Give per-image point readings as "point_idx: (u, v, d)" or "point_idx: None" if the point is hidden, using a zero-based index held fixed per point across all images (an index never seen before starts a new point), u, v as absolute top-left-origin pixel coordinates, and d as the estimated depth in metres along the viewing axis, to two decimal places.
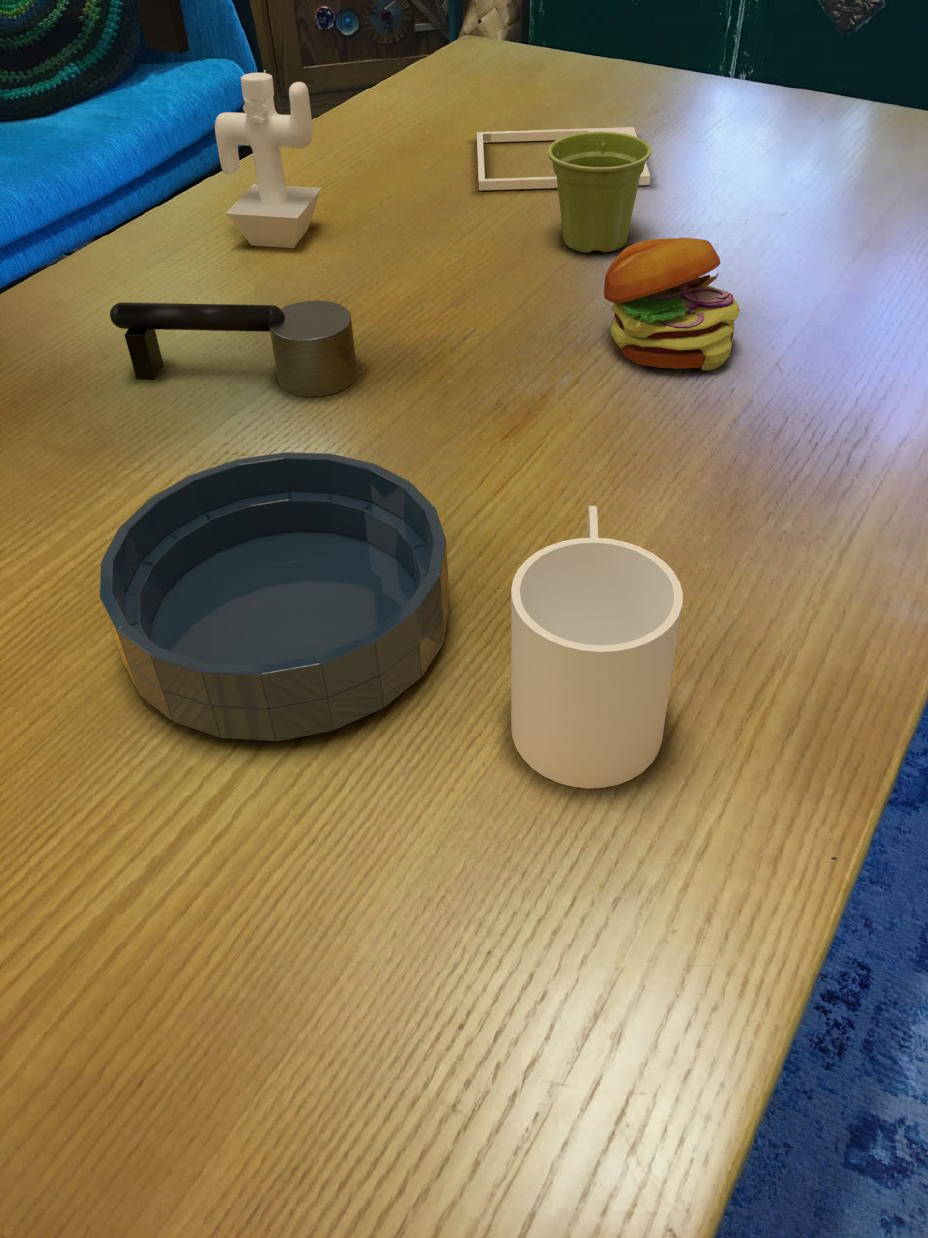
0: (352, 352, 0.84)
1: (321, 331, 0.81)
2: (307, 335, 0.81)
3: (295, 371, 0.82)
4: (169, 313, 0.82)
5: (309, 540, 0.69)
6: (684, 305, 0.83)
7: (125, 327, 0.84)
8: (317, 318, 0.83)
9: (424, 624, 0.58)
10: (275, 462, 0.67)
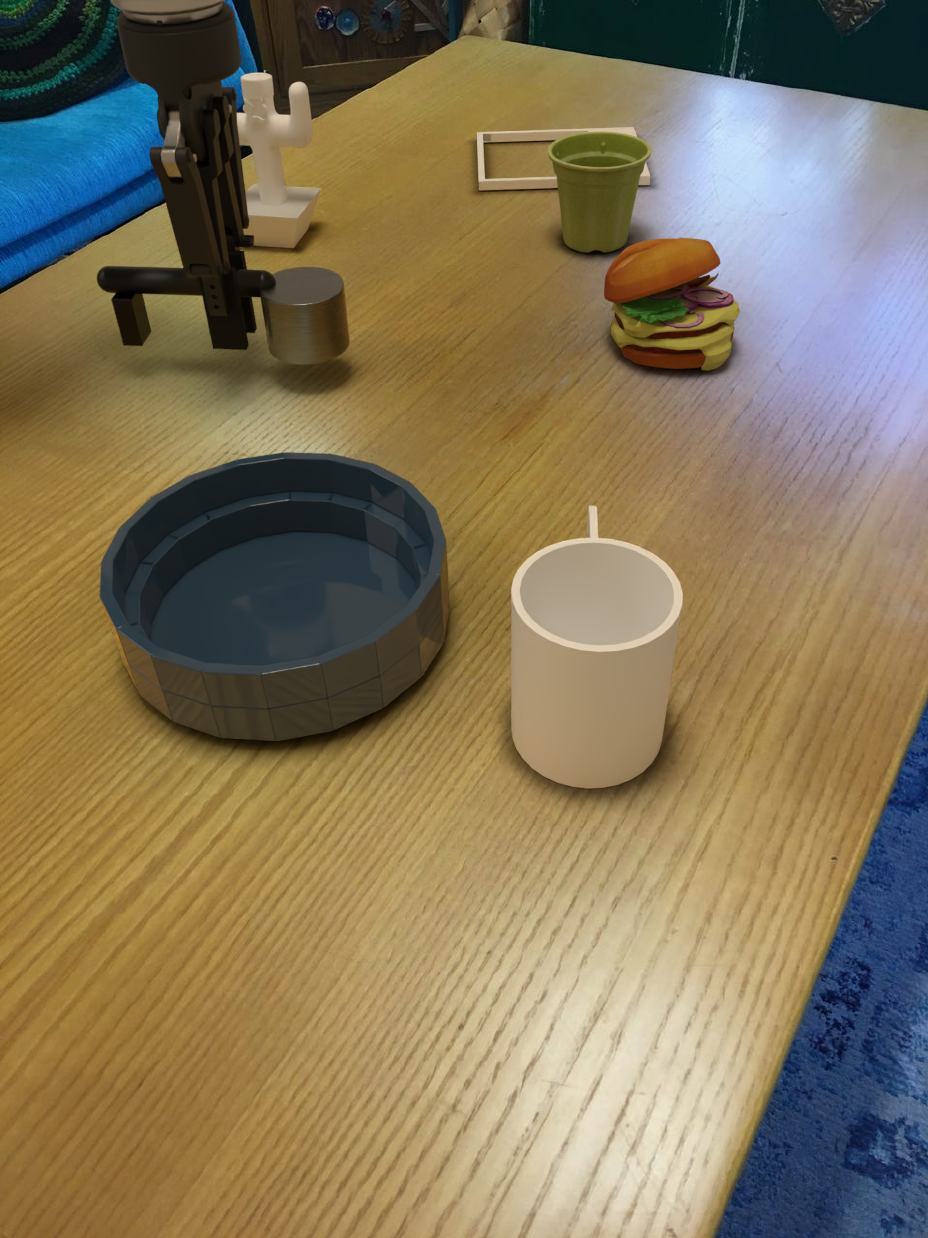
0: (344, 319, 0.82)
1: (313, 297, 0.79)
2: (298, 300, 0.79)
3: (285, 338, 0.80)
4: (157, 277, 0.81)
5: (309, 540, 0.69)
6: (684, 305, 0.83)
7: (112, 291, 0.82)
8: (309, 283, 0.81)
9: (424, 624, 0.58)
10: (275, 462, 0.67)
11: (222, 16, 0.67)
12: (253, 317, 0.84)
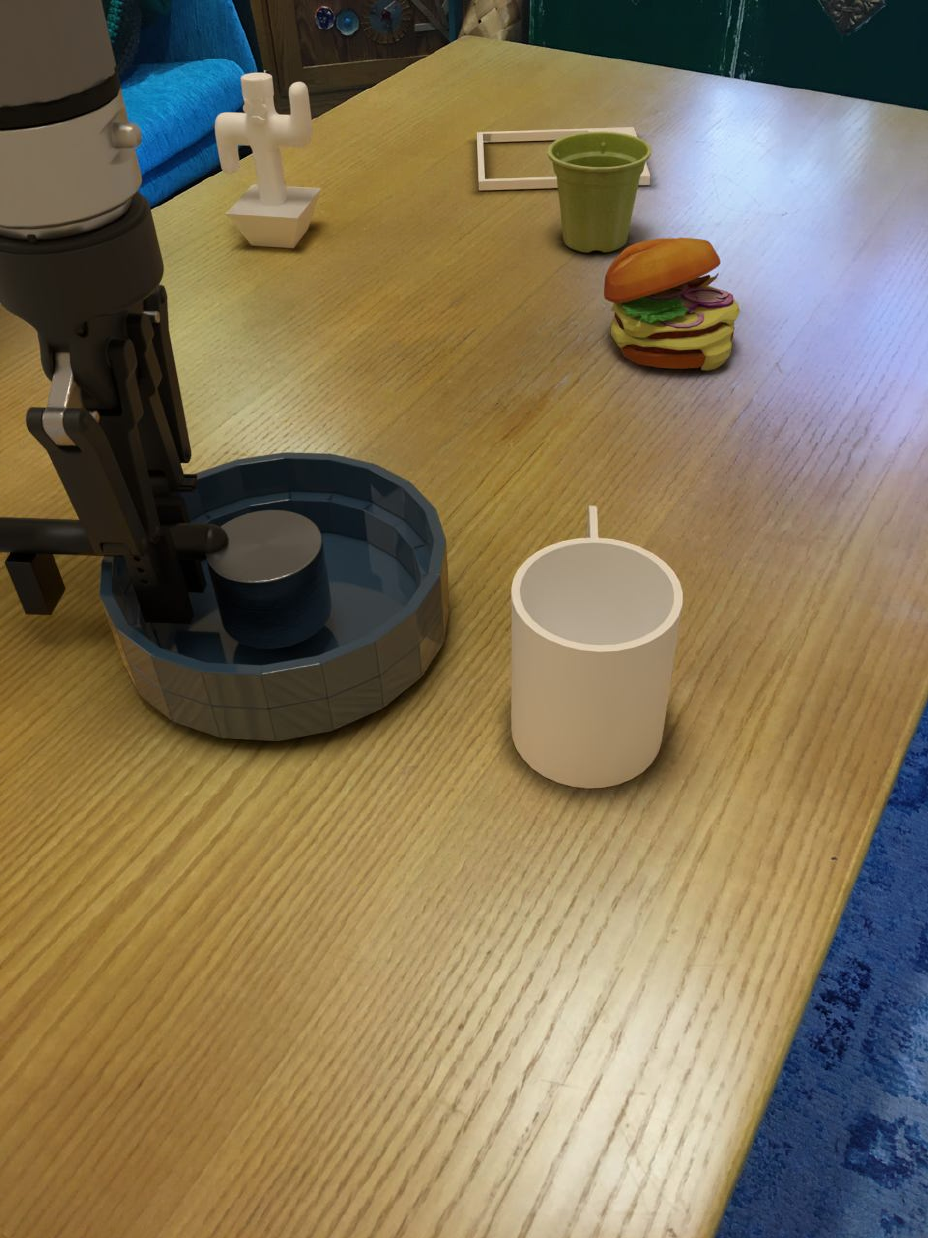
0: (324, 586, 0.60)
1: (279, 567, 0.57)
2: (258, 574, 0.57)
3: (242, 618, 0.58)
4: (65, 536, 0.58)
5: None
6: (684, 305, 0.83)
7: (5, 552, 0.60)
8: (274, 542, 0.59)
9: (424, 624, 0.58)
10: (275, 462, 0.67)
11: (129, 220, 0.45)
12: (201, 573, 0.62)
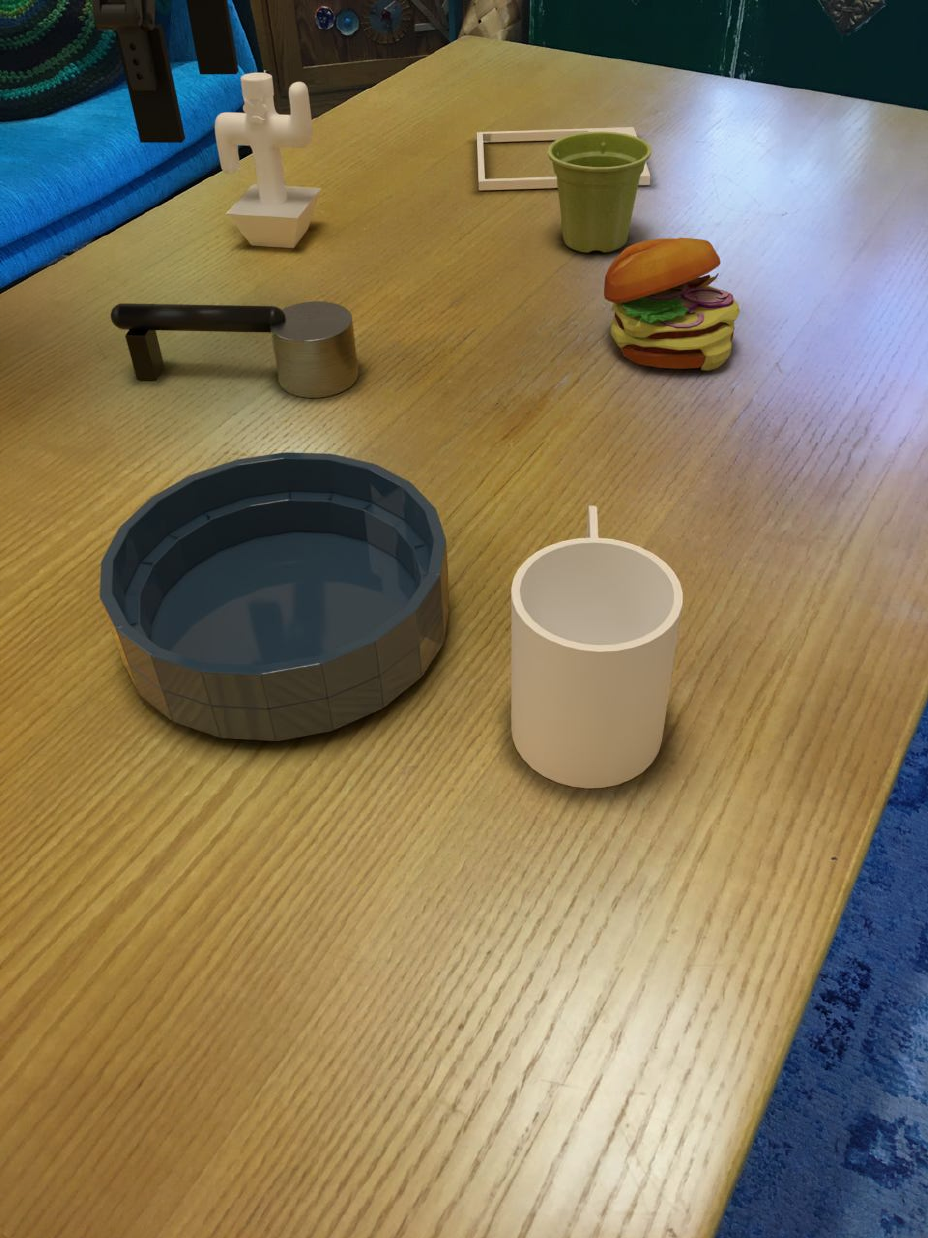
0: (353, 353, 0.84)
1: (322, 332, 0.81)
2: (308, 336, 0.80)
3: (296, 372, 0.82)
4: (170, 314, 0.82)
5: (309, 540, 0.69)
6: (684, 305, 0.83)
7: (126, 328, 0.84)
8: (318, 319, 0.82)
9: (424, 624, 0.58)
10: (275, 462, 0.67)
11: None
12: (234, 54, 0.76)
